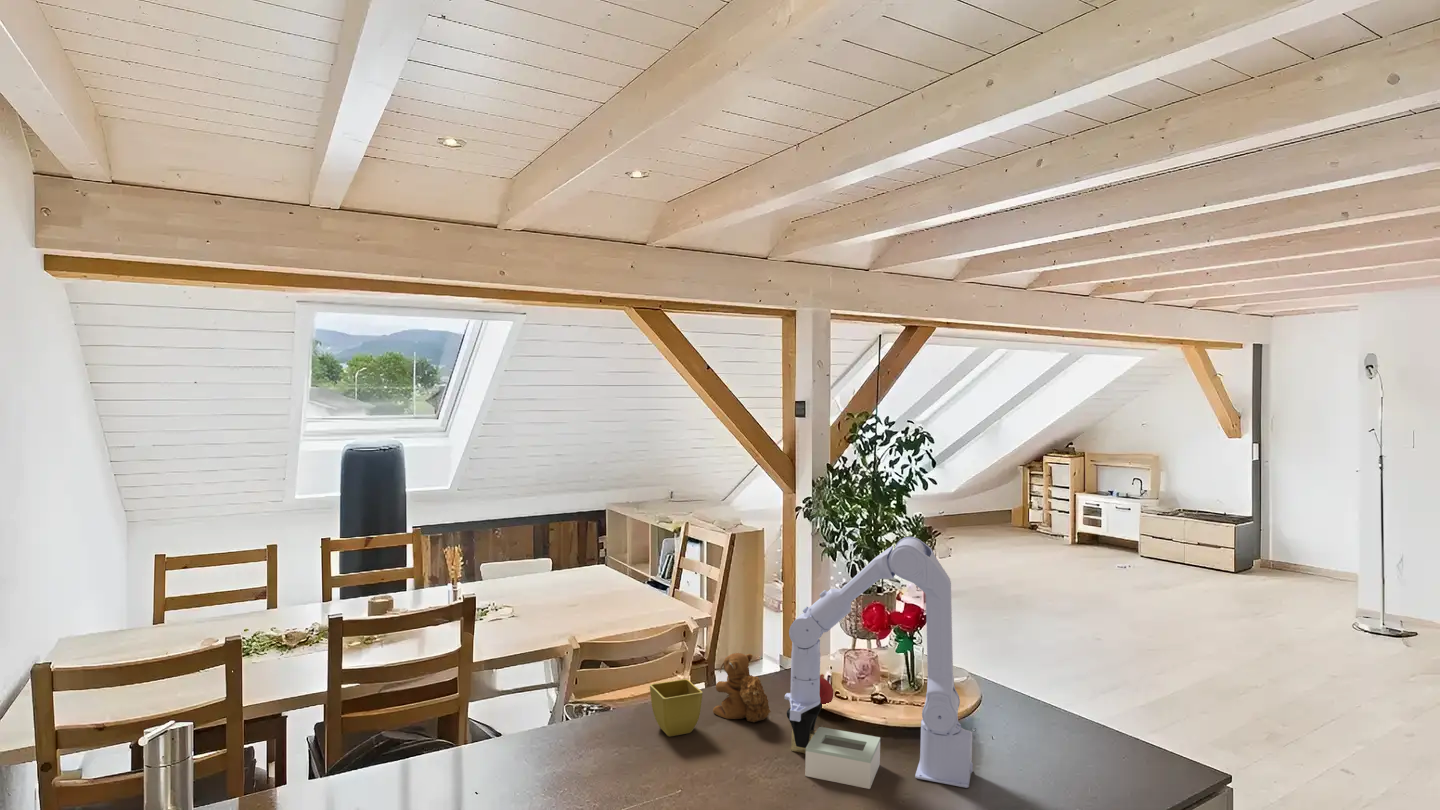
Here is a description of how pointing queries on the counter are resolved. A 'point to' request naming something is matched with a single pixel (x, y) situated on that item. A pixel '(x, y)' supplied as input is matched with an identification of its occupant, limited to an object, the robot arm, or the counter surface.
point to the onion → (825, 690)
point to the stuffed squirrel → (741, 691)
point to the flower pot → (676, 706)
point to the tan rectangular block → (800, 749)
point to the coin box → (843, 757)
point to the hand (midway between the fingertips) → (803, 743)
